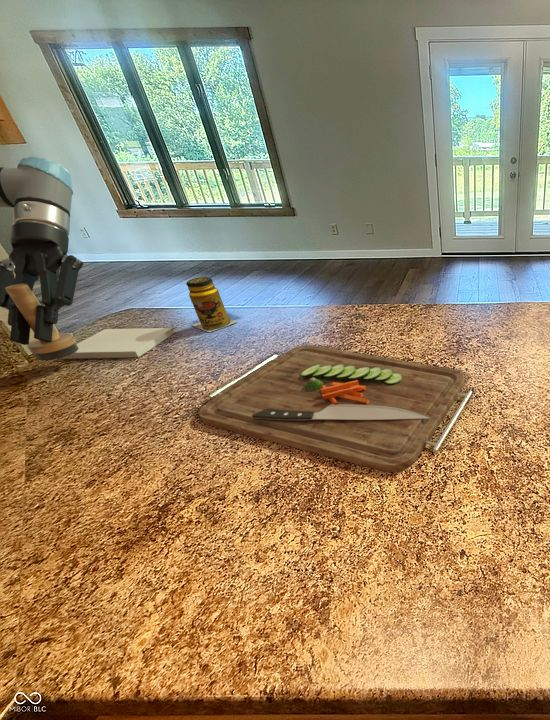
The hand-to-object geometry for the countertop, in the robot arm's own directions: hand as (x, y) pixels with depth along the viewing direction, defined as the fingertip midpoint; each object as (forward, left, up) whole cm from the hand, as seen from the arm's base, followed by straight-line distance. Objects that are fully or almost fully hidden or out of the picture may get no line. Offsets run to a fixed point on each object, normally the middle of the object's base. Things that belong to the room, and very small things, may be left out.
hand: (31, 341), depth 71 cm
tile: (+1, +15, -9) cm, 17 cm away
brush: (-1, +4, -5) cm, 6 cm away
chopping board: (+58, -8, -9) cm, 59 cm away
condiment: (+16, +26, -9) cm, 32 cm away
